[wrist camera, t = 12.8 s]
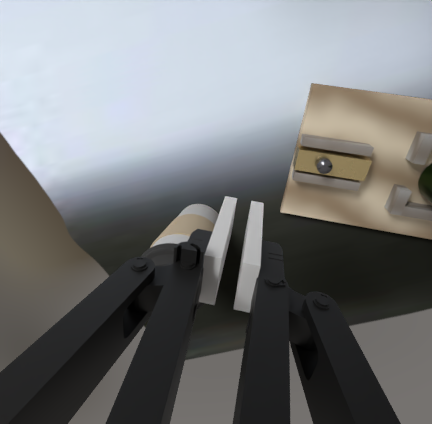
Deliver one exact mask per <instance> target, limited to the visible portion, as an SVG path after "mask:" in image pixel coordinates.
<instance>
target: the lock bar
mask: <svg viewBox="0 0 432 424" xmlns="http://www.w3.org/2000/svg"><path fill="white" fill-rule="evenodd" d="M371 163H372V161H371V160H370V159H369V158H368V157H367V156H363V155H357V154H351V153H344V152H338V151H332V150H325V149H319V148H313V147H306V146H300V145H298V146H297V150H296V154H295V158H294V162H293V167H294V170H299V171H305V172H311V173H317V174H323V175H329V176H336V177H342V178H348V179H354V180H360V181H365V178H366V176H367V173H368V170H369V168H370V165H371Z"/></svg>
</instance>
